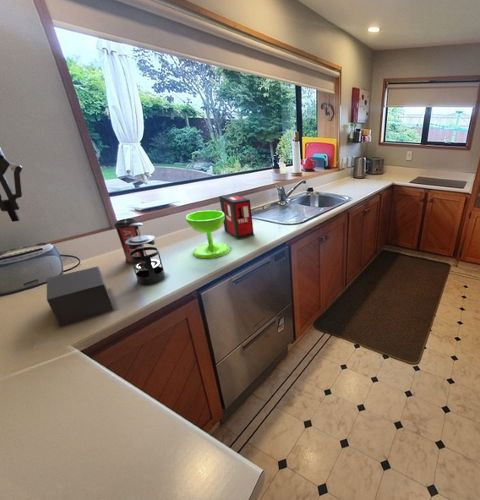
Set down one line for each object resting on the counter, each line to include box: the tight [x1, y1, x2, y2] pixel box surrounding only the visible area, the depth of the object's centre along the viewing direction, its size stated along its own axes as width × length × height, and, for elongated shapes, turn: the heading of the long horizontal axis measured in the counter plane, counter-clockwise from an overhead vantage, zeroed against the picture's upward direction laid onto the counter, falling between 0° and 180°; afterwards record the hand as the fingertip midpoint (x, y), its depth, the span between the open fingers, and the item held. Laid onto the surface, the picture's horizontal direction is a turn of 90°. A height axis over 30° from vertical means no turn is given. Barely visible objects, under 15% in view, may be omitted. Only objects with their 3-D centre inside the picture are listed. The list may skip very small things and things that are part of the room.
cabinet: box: [46, 266, 115, 327], centre depth 91 cm, size 16×13×10 cm
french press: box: [125, 222, 167, 286], centre depth 106 cm, size 12×9×23 cm
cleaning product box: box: [218, 193, 255, 240], centre depth 153 cm, size 16×9×20 cm, turn 46°
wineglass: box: [185, 209, 231, 259], centre depth 131 cm, size 16×16×18 cm
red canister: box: [114, 218, 148, 264], centre depth 121 cm, size 8×8×18 cm
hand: (15, 220), depth 90 cm, fingers closed
